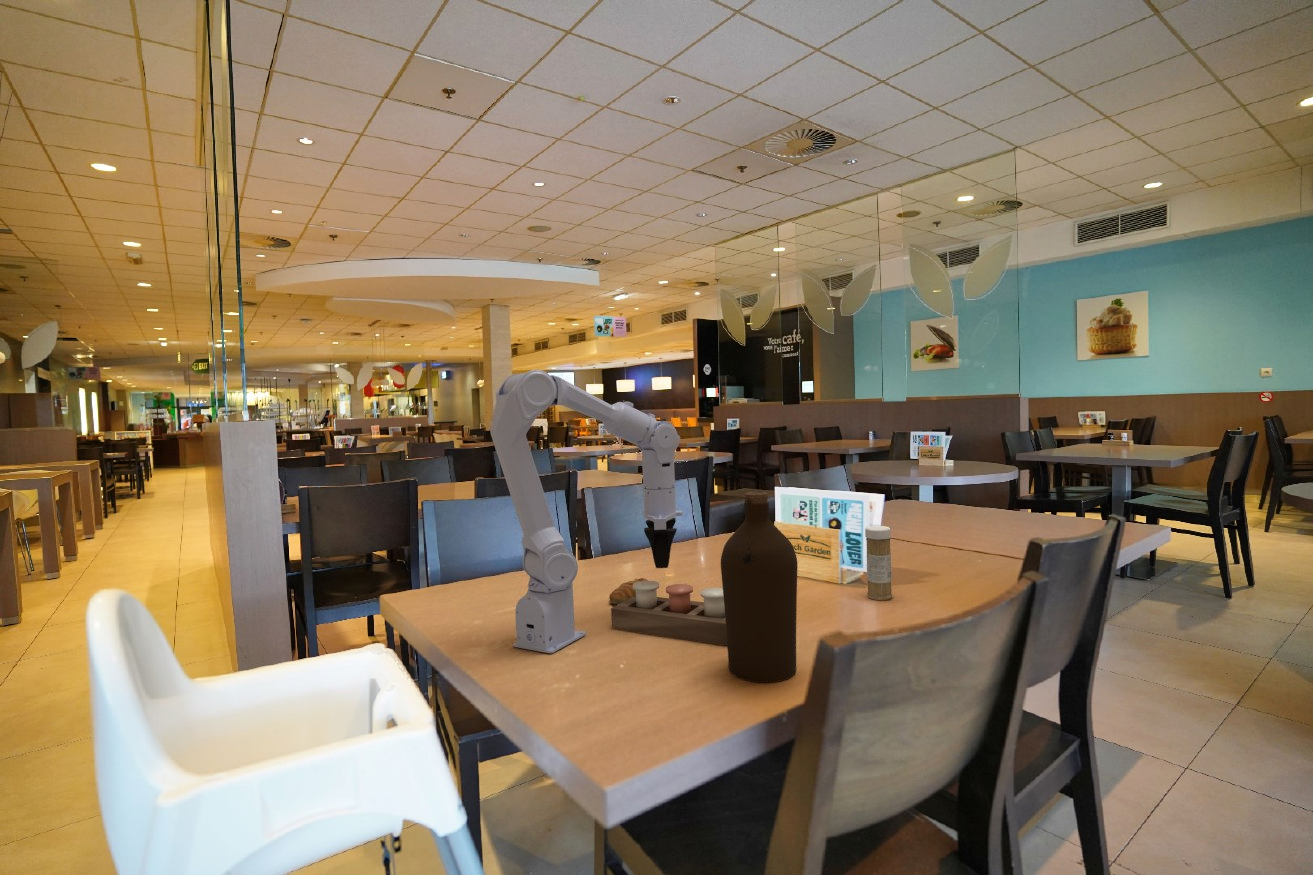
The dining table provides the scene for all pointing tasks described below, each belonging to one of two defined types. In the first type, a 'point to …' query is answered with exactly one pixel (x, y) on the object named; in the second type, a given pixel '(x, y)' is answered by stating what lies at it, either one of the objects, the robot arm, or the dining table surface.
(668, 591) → the red plug
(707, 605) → the cream plug
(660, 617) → the plug block
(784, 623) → the olive oil
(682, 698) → the dining table surface
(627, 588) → the pastry
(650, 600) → the cream plug
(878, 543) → the sprinkles bottle
